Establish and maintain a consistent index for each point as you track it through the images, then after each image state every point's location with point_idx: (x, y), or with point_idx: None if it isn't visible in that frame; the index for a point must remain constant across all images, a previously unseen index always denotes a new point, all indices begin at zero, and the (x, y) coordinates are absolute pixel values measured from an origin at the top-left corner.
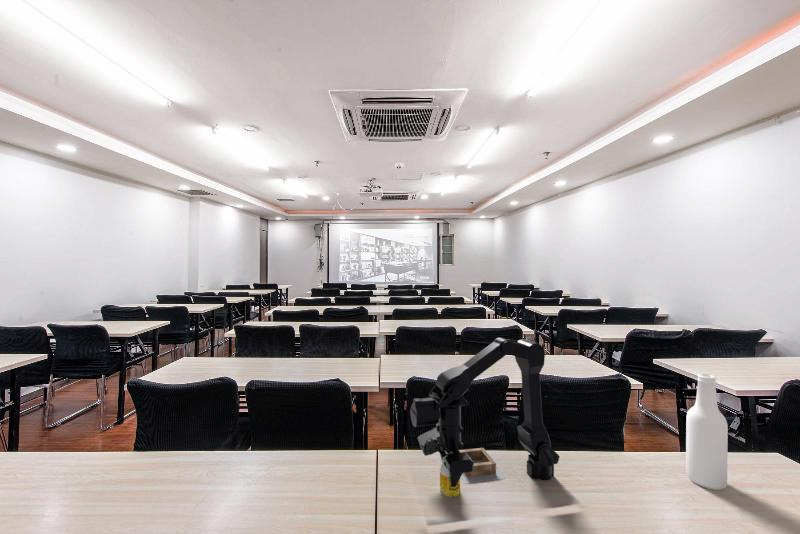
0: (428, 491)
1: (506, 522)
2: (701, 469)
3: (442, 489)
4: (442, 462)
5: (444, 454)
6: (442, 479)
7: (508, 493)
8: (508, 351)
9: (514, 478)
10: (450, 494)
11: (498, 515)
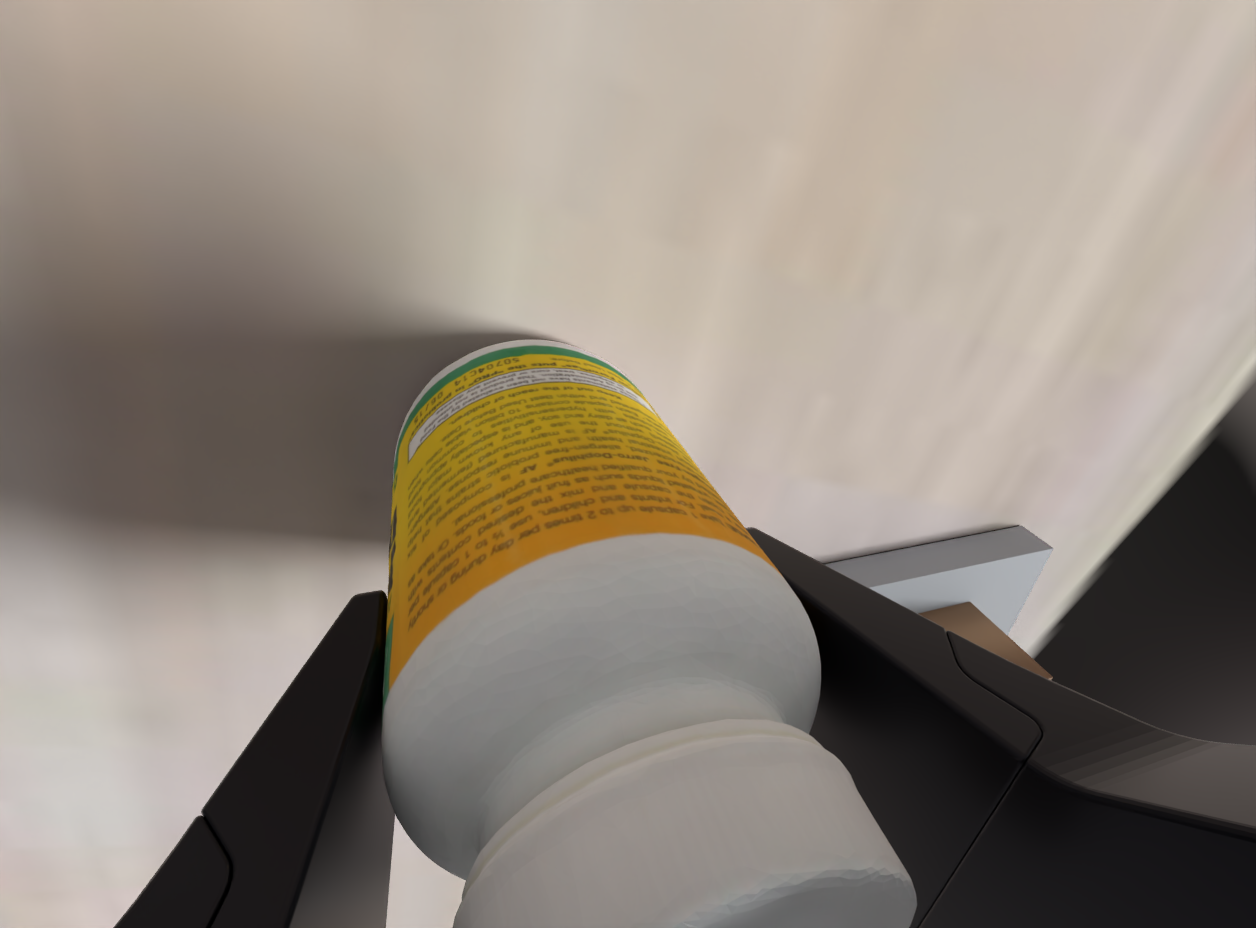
0: (653, 180)
1: (54, 862)
2: None
3: (476, 402)
4: (715, 800)
5: (1000, 827)
6: (499, 497)
7: None
8: None
9: None
10: (394, 486)
11: (162, 815)
